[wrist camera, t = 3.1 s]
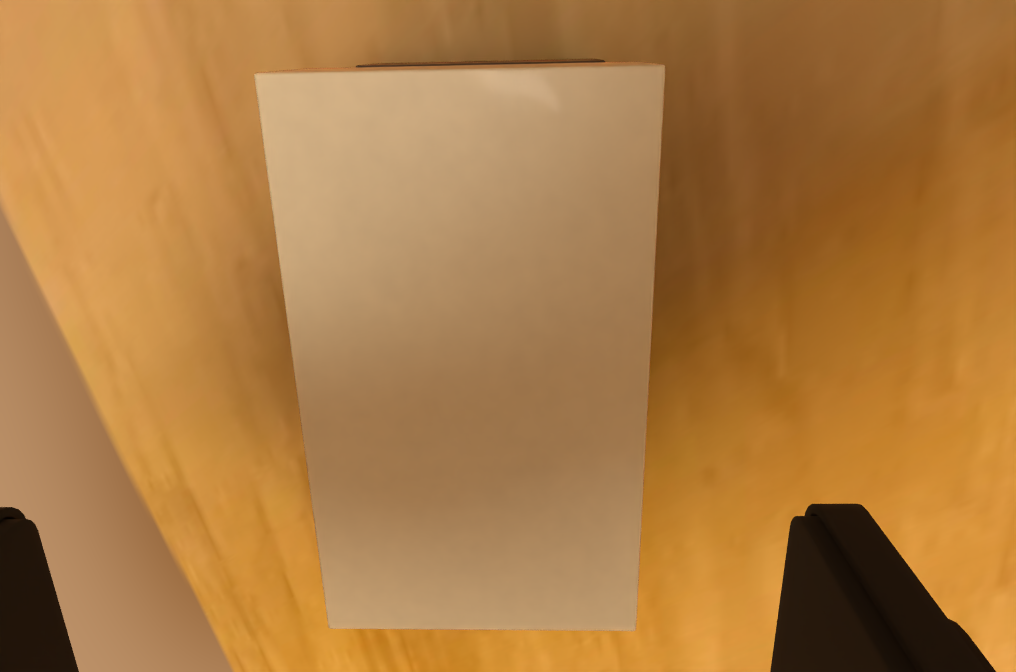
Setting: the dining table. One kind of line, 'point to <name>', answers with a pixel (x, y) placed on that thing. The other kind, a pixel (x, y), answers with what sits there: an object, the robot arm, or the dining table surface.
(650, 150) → the cream rectangular block
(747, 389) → the dining table surface
